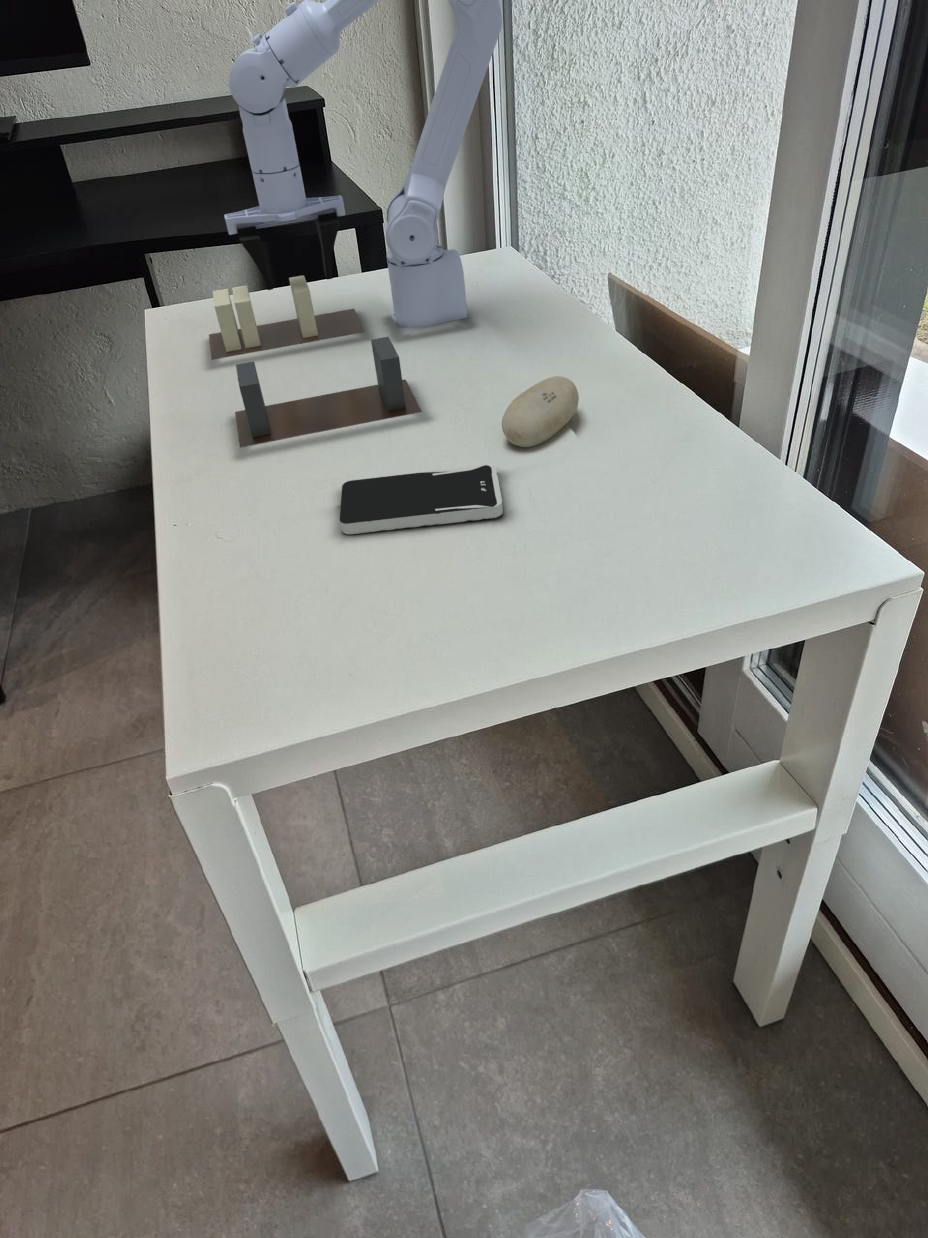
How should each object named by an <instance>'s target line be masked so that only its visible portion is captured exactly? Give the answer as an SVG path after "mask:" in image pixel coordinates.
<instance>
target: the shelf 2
mask: <svg viewBox="0 0 928 1238" xmlns="http://www.w3.org/2000/svg"><path fill="white" fill-rule="evenodd" d="M402 382H403V389H404V396H405V404H406V408H404V409H399V410H394V411H388V409H387V407H386V404H385V402H384V400H383V398H382V395H381V393H380V391H379V388H378V384H374V385H368V386H363V387H357V388H352V389H347V390H342V391H337V392H332V393H326V394H321V395H316V396H310V397H306V398H300V399H295V400H289V401H285V402H279V403H274V404H269V405H265V408H266V412H267V417H268V422H269V427H270V432H271V435H266V436H261V437H256V438H252V434H251V430H250V426H249V422H248V419H247V415H246V411H245V409H242V410H238V411H234V415H235V423H236V431H237V438H238V444H239V449H240V448H241V449H242V448H247V447H251V446H256V445H261V444H267V443H272V442H277V441H282V440H286V439H292V438H297V437H303V436H307V435H312V434H318V433H323V432H328V431H332V430H337V429H342V428H348V427H352V426H358V425H364V424H367V423H373V422H377V421H383V420H389V419H394V418H399V417H403V416H409V415H413V414H418V413H423V411H422V408H421V407H420V404H419V402H418V401H417V399H416V397H415V395H414V393H413V391H412V389H411V387H410V385H409V383H408V381H407V379H405V378H404V379H402Z"/></svg>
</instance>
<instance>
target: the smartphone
mask: <svg viewBox="0 0 928 1238" xmlns="http://www.w3.org/2000/svg"><path fill="white" fill-rule="evenodd" d="M340 495H341V497H340V509H339V523H340V528H341V532H342V534H344V535H348V536H349V535H351V536H352V535H358V534H367V533H368V534H369V533H377V532H385V531H394V530H403V529H412V528H419V527H427V526H428V527H429V526H437V525H446V524H454V523H464V522H471V521H480V520H482V521H483V520H489V519H490V520H491V519H497V518H499V517H501V516H502V515H503V513H504V508H503V499H502V493H501V486H500V482H499V476H498V470H497V467H496V466H495V465H492V464H481V465H473V466H466V467H455V468H447V469H440V470H430V471H421V472H414V473H413V472H411V473H404V474H396V475H387V476H377V477H371V478H370V477H369V478H360V479H352V480H347V481H346V482H344V483H343V484H342V485H341V494H340Z"/></svg>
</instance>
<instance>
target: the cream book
mask: <svg viewBox="0 0 928 1238" xmlns="http://www.w3.org/2000/svg"><path fill="white" fill-rule="evenodd" d="M288 280H289V285H290V291H291V295H292V299H293V305H294V309H295V314H296V319H297V320H298V324H299V327H300V330H301V333H302V336H303V338H307V337H313V336H318V331H317V326H316V321H315V312H314V311H315V310H314V306H313V300H312V296H311V291H310V288H309V285H308V282H307V280H306V277H305V275H298V276H292V277H288Z"/></svg>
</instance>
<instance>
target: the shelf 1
mask: <svg viewBox="0 0 928 1238" xmlns="http://www.w3.org/2000/svg"><path fill="white" fill-rule="evenodd" d="M314 316H315V321H316V326H317V331H318V336H313V337H307V338H303V336H302V333H301V330H300V327H299V324H298V320H297V318H293V319H288V320H281V321H277V322H270V323H265V324H260V325H257V329H258V334H259V338H260V343H261V346H257V347H252V348H245V344H244V340H243V335H242V331H241V328H238V331H239V336H240V341H241V347H242V349H241V350H236V351H230V352H226V349H225V345H224V341H223V337H222V333H221V331H220V332H215V333H209V334H208V341H209V349H210V350H209V351H210V359H211V361H215V360H219V359H224V358H231V357H237V356H240V355H246V354H247V355H248V354H251V353H257V352H258V353H259V352H263V351H269V350H275V349H279V348H285V347H291V346H297V345H301V344H306V343H311V342H318V341H323V340H329V339H333V338H339V337H345V336H350V335H356V334H361V333H366V331H365V329H364V326H363V324H362V322H361V320H360V317H359V316H358V314H357V311H356V309H355V308H349V309H344V310H343V309H342V310H338V311H332V312H326V313H321V314H314Z"/></svg>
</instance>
